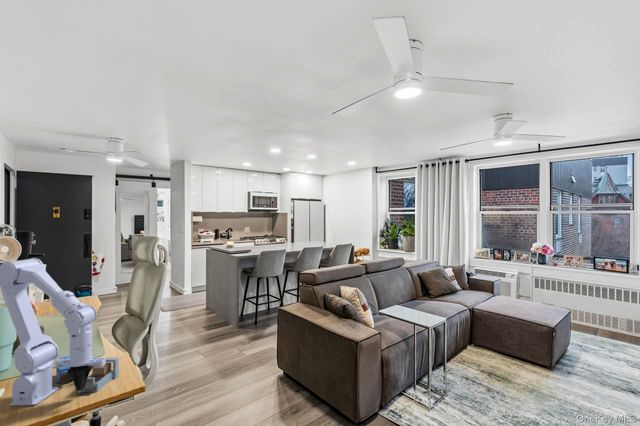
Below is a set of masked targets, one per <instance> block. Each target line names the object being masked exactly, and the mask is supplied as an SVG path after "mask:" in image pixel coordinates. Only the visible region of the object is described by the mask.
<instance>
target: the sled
mask: <svg viewBox="0 0 640 426" xmlns="http://www.w3.org/2000/svg"><path fill="white" fill-rule="evenodd" d="M112 370H113V369H111V371H112ZM102 378H103V377H91V378H87V381H86V385H85V387H84V388H83V389H82V390H81V391H94V390H95V384H96V383H97V382H98V381H99V380H101V379H102Z"/></svg>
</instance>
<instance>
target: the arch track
mask: <svg viewBox="0 0 640 426" xmlns="http://www.w3.org/2000/svg"><path fill="white" fill-rule="evenodd" d="M105 358H106V363H112V369H111V370H112V371H111V372H110V373H108V374H107V375H106V376H105V377H103V378H102V379H101V380H99V381H98V382H97V383H96V384H95V390H94V391H81V390H77V391H78V393H77V396H90V395H92V394H93V393H94V392H95V393H97V392H99V391H100V390H101V389H103V388H104V387H105V386H106V385H107V384H108V383H110V382H111V381H112V380H113V379H114V380H115V379H117V378H118V377H119V376H120V375H119V374H120V373H119V372H120V371H121V370H120V368H119V364H120V363H119V362H120V360H119V359H120V357H105ZM93 367H95V366H93ZM91 377H92V373H91V374H89V375H88V378H91Z"/></svg>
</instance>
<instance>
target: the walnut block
mask: <svg viewBox="0 0 640 426" xmlns="http://www.w3.org/2000/svg"><path fill="white" fill-rule="evenodd" d="M111 370H112V362H106V364H105V365H104V366H103V367H99V366H95V367H93V368H92V369H91V374H92V377H105V376H106V375H107V374H108V373H110V372H111Z"/></svg>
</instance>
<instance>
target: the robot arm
mask: <svg viewBox="0 0 640 426" xmlns="http://www.w3.org/2000/svg"><path fill="white" fill-rule="evenodd" d="M46 268H47V267H46V264H45V263H43V262H42V260H41V259H40V258H36V257H32V258H28V259H22V260H16V261H15V260H14V261H13V260H12V261H5V262H2V263H1V264H0V290H1V294H2V298H3V300H4V302H5V306H6V308H7V311H8V313H9V316H10V319H11V322H12V324H13V326H14V330H15V333H16V334H17V338H18V340H19V343H20V344H19V345H18V346H17V347H16V349H15V350H14V351H13V355H14V367H15V369H16V370H17V371H18V372H19V374H20V375H19V376H18V377H17V378H15V380H14V381H13V383H12V386H11V387H12V388H11V391H12V394H11V402H10V403H9V406H36V405H38V404H40V403H41V402H43V400H45V399H46V398H48V397H49V396H51V395H52V394H54V393H55V392H56V391H58V390H59V389H60V387H59V386H53V364H54V368H55V369H56V367H60V366H70V369H69V370H68V371H67V374H69V376H70V377H71V378H72V379H71V380H72V381H73V384H74V388H75V391H78V390H82V389H83V388H84V387H85V385H86V381H87V378H88V377H89V376H90V373H91V372H92V368H93V366H99V367H103V366H104V365H105V364H106V363H107V362H106V358H107V357H98V356H93V322H94V321H95V320H96V318H97V316H98V315H97V314H98V313H97V310H96V309H95V308H94V306H92V305H90V304H86V303H83V302H82V301H81V300H80V299H78V298H77V297H76V296H75V293H74V292H72V291H70V290H63V289H62V288H61V287H60V286H59V285H58V283H57V282H56V281H55V280H54V279H53V278H52V277H51V275H49V273H48V272H47V271H46V270H47V269H46ZM31 284H32V285H34V286H35V287H37V288H38V289H39V290H40V291H42V292H43V293H44V294H45V295H47V296H48V297H49V298H50V305H51V306H52V307H53V308H54V309H55V310H56V311H57V312H58V313H59V314H60V315H61V316H62V317H64V320H63V321H64V325H65V327H66V328H67V333H68V335H69V354H68V356H69V358H64V359H59V358H58V356H59V353H60V348H59V346H58V345H57V343H56V342H55V341H54V340H53V338H52V336H50V335H46V334H43V332H42V330H41V326H40V324H39V322H38V321H39V320H38V318H37V315H36V314H35V310H34V308H33V306H32V302H31V300H30V297H29V294H28V292H27V288H28V287H29V286H30V285H31ZM57 358H58V359H57ZM56 359H57V360H56ZM55 360H56V361H55Z"/></svg>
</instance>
